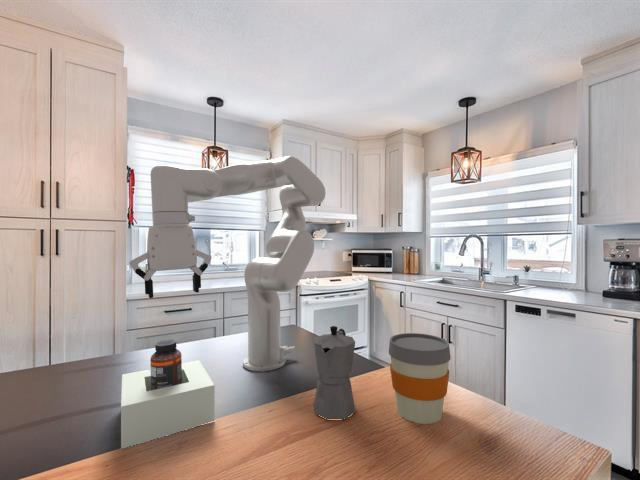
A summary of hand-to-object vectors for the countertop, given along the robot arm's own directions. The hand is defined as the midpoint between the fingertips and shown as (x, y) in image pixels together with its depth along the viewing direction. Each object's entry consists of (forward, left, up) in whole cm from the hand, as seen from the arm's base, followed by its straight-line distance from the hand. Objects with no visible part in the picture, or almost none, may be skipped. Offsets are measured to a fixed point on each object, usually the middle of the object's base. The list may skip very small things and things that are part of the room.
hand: (174, 294), depth 74 cm
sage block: (+2, +7, -24) cm, 25 cm away
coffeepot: (-30, +23, -25) cm, 45 cm away
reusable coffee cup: (-44, +34, -25) cm, 60 cm away
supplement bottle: (+2, +7, -21) cm, 22 cm away
